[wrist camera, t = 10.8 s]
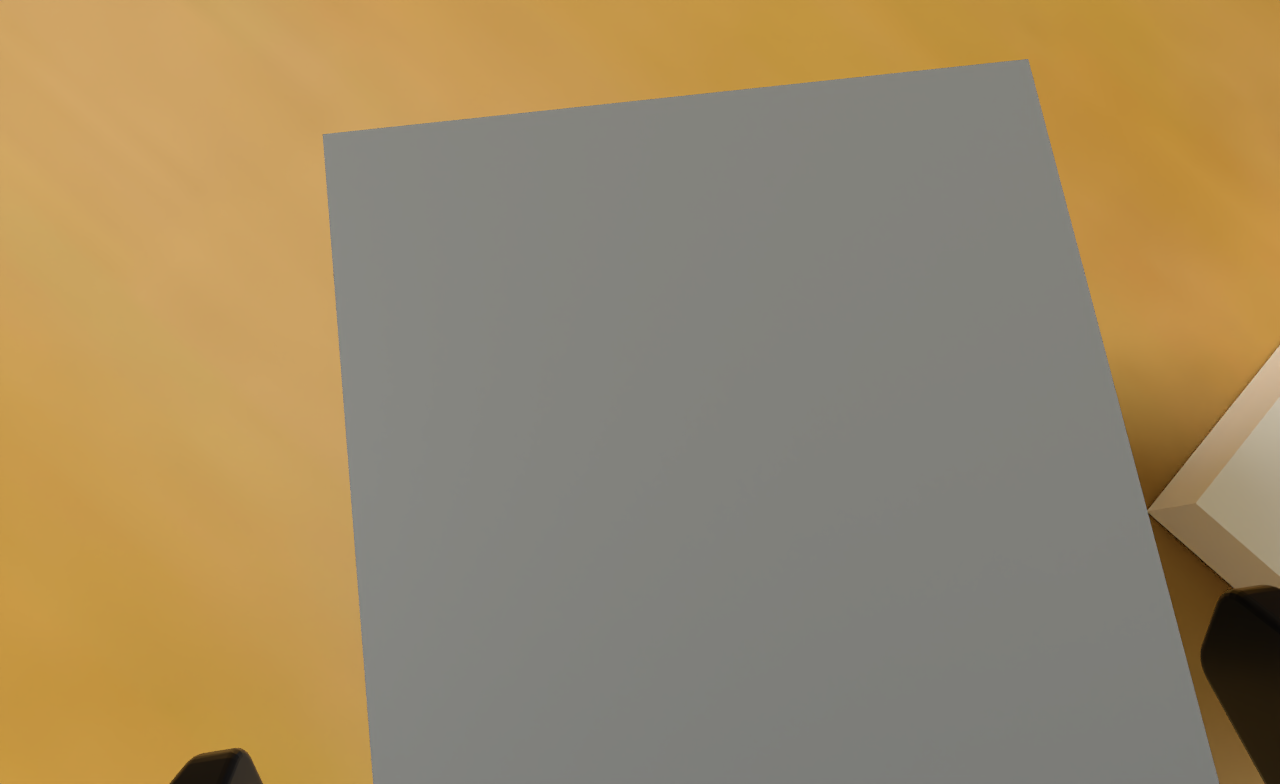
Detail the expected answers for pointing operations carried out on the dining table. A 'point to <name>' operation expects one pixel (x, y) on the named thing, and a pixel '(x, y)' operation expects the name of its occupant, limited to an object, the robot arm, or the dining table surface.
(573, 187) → the tall grey box
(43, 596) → the dining table surface
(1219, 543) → the base
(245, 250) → the dining table surface
